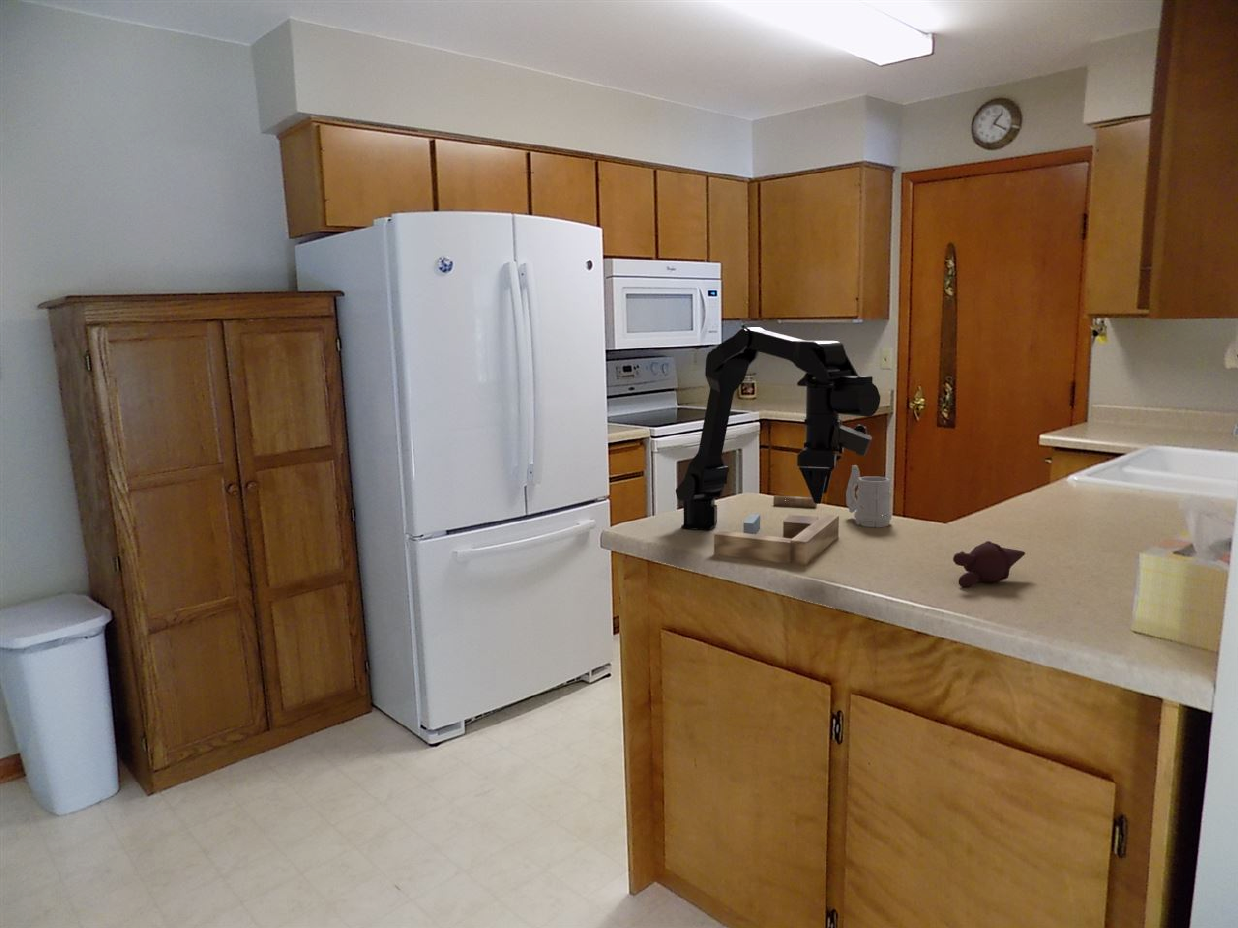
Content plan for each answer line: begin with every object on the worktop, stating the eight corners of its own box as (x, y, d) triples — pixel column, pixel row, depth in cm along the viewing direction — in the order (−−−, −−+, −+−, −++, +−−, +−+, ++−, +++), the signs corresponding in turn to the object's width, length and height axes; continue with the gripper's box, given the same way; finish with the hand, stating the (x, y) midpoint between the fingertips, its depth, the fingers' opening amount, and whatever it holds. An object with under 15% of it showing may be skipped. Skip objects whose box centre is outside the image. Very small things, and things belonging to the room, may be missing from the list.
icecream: (1002, 533, 142) (936, 551, 137) (1037, 532, 135) (969, 550, 130) (1011, 572, 142) (944, 591, 136) (1046, 573, 135) (978, 593, 129)
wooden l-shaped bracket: (714, 554, 156) (714, 531, 155) (755, 527, 175) (755, 507, 174) (805, 566, 147) (806, 542, 146) (838, 536, 166) (838, 515, 166)
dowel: (773, 507, 196) (773, 499, 195) (775, 501, 198) (774, 493, 196) (816, 510, 192) (815, 501, 191) (817, 503, 194) (816, 495, 193)
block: (783, 540, 165) (783, 521, 164) (789, 533, 170) (789, 514, 169) (812, 543, 162) (813, 523, 162) (818, 535, 168) (818, 516, 167)
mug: (872, 529, 171) (874, 473, 169) (833, 518, 182) (835, 465, 180) (898, 524, 174) (900, 470, 172) (859, 514, 185) (861, 462, 183)
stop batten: (743, 536, 168) (743, 522, 167) (751, 527, 175) (751, 513, 174) (753, 537, 167) (753, 523, 166) (760, 528, 174) (760, 514, 174)
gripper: (866, 419, 133) (863, 512, 135) (872, 407, 150) (870, 490, 152) (797, 418, 136) (796, 508, 139) (811, 407, 154) (810, 487, 156)
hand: (820, 498), depth 147 cm, fingers open, 9 cm apart
